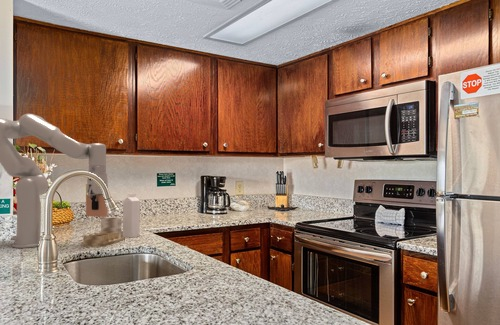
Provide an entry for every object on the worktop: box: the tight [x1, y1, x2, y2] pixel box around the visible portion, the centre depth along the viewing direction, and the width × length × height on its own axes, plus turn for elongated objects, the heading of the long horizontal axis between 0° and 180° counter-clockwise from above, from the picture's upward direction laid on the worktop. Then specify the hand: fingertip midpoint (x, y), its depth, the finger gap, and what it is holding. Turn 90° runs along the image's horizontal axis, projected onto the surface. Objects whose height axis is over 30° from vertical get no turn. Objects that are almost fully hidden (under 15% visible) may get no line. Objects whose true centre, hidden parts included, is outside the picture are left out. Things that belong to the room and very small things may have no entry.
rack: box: [80, 216, 126, 247], centre depth 186 cm, size 12×18×11 cm, turn 167°
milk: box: [122, 193, 141, 239], centre depth 203 cm, size 6×6×22 cm
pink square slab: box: [85, 194, 109, 218], centre depth 180 cm, size 10×2×10 cm, turn 77°
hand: (96, 209), depth 180 cm, fingers closed on pink square slab, 2 cm apart
